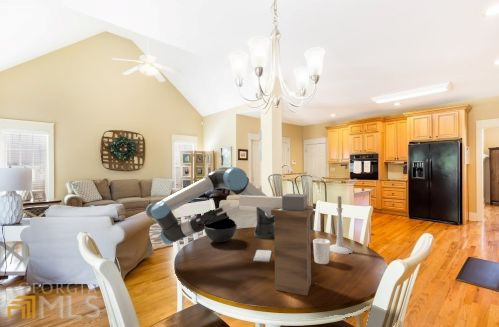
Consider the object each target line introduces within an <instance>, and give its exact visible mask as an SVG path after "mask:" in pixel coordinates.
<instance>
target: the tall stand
mask: <svg viewBox="0 0 499 327" xmlns="http://www.w3.org/2000/svg"><path fill="white" fill-rule="evenodd" d="M313 213H314V206H307V208H306V209H305V210H304V211H297V210H282V208H273V209H272V210H271V215H274V235H275V237H274V289H275V291H281V292H286V293H291V294H297V295H303V296H308V295H309V291H310V288H311V284H312V257H311V256H312V254H311V253H312V251H311V250H312V249H311V248H312V244H311V243H312V242H311V239H312V238H311V237H312V236H311V234H312V233H311V216H312V214H313Z"/></svg>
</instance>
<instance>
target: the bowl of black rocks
mask: <svg viewBox="0 0 499 327" xmlns="http://www.w3.org/2000/svg"><path fill="white" fill-rule="evenodd" d="M237 227H238V225H237V224H236V222H235V221H234V220H233V219H232V218H230V216H228V218H225V219H222V220H219V221H216V222H213V223H211V224H208V225H207V224H205V228H204V230H203V231H204V232H205V235H206V236H207V238H209V240H211V241H213V242H214V243H225V242H228V241H230V239H232V238H233V237H234V235H235V233H236V231H237Z"/></svg>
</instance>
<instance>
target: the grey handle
mask: <svg viewBox="0 0 499 327" xmlns="http://www.w3.org/2000/svg"><path fill="white" fill-rule="evenodd" d="M238 206H239V207H254V208H255V207H269V208H282V210H297V211H304V210H305V209H306V208H307V207H308V194H307V193H305V194H304V193H303V194H301V193H286V194H284V195H282V196H273V195H272V196H269V195H267V196H247V195H239V196H238Z"/></svg>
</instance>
